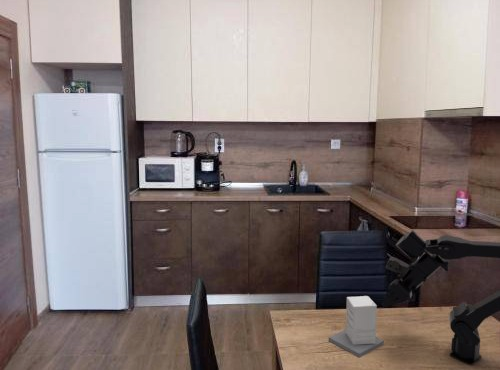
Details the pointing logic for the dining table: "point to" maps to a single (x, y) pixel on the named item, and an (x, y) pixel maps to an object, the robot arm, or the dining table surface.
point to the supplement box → (361, 320)
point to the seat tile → (358, 350)
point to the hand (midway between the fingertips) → (386, 301)
